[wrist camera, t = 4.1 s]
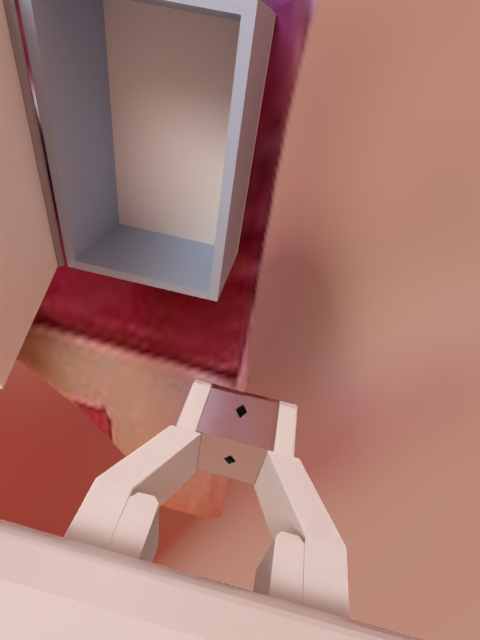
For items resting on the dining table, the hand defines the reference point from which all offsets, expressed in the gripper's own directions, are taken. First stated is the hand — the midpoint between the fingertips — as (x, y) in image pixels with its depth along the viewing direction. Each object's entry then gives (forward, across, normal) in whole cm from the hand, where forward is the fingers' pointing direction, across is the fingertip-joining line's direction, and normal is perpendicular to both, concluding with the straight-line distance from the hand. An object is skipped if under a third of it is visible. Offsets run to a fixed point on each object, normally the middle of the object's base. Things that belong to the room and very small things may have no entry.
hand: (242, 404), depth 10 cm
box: (+28, +11, 0) cm, 30 cm away
